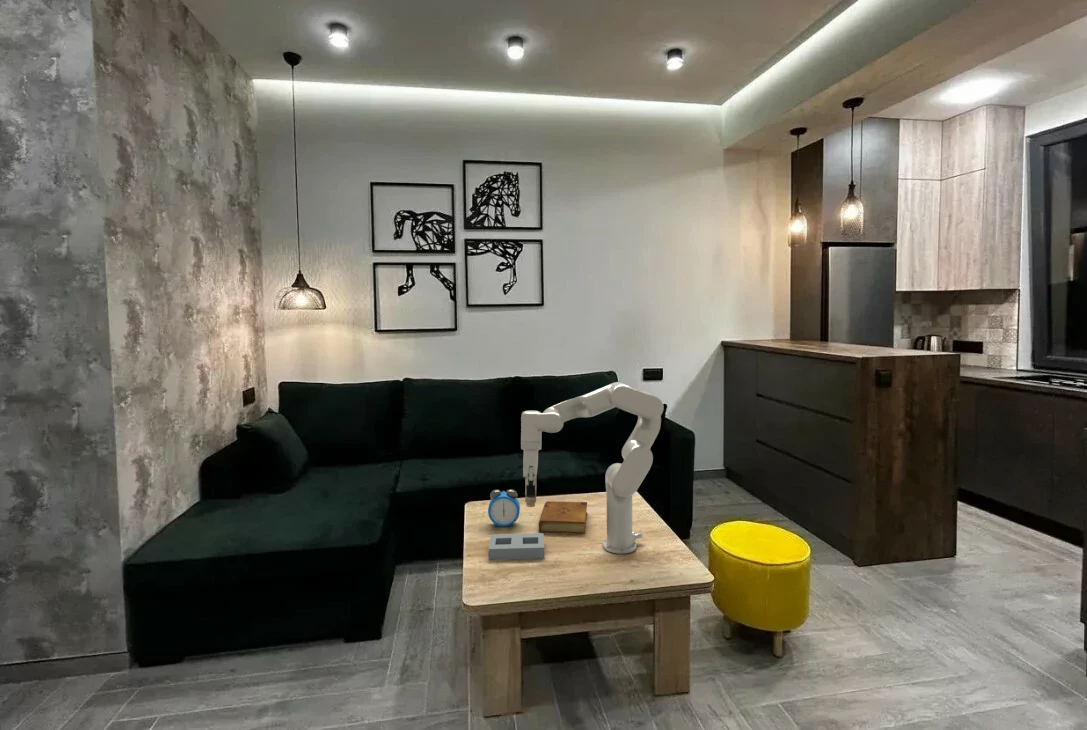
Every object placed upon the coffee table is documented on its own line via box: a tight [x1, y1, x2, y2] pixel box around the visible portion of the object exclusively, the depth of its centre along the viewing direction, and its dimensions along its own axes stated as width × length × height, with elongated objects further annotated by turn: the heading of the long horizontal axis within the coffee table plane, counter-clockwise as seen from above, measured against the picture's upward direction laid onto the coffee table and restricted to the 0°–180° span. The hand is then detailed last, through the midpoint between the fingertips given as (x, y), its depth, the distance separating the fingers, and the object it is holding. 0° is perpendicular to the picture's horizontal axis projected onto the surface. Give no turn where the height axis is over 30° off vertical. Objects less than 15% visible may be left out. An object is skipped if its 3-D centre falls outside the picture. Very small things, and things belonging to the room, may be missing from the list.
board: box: [488, 532, 545, 561], centre depth 202 cm, size 20×13×4 cm, turn 91°
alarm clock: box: [487, 488, 521, 528], centre depth 228 cm, size 13×6×15 cm, turn 91°
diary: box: [538, 500, 588, 535], centre depth 229 cm, size 23×19×6 cm
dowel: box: [524, 475, 537, 508], centre depth 200 cm, size 4×4×12 cm
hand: (530, 492), depth 200 cm, fingers closed on dowel, 4 cm apart
